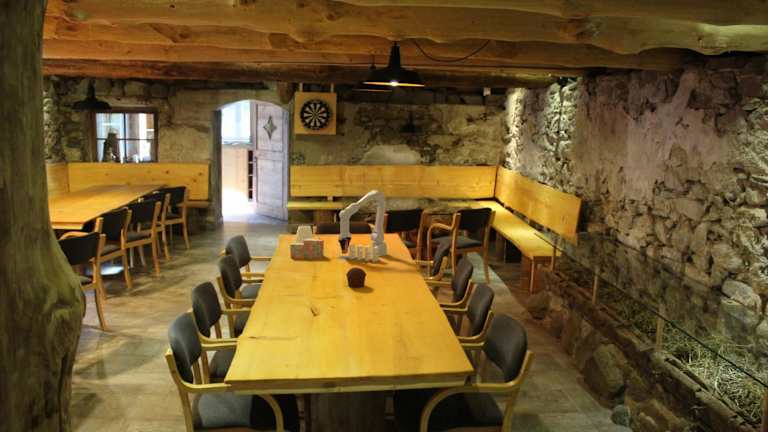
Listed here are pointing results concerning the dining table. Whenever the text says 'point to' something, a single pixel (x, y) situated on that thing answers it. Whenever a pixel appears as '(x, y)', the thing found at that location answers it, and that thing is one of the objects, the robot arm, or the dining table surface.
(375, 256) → the ivory domino
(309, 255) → the stack of blocks
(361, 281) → the muffin
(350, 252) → the ivory domino
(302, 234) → the cup
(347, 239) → the red domino
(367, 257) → the ivory domino
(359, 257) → the ivory domino
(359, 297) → the dining table surface
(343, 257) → the domino mat
